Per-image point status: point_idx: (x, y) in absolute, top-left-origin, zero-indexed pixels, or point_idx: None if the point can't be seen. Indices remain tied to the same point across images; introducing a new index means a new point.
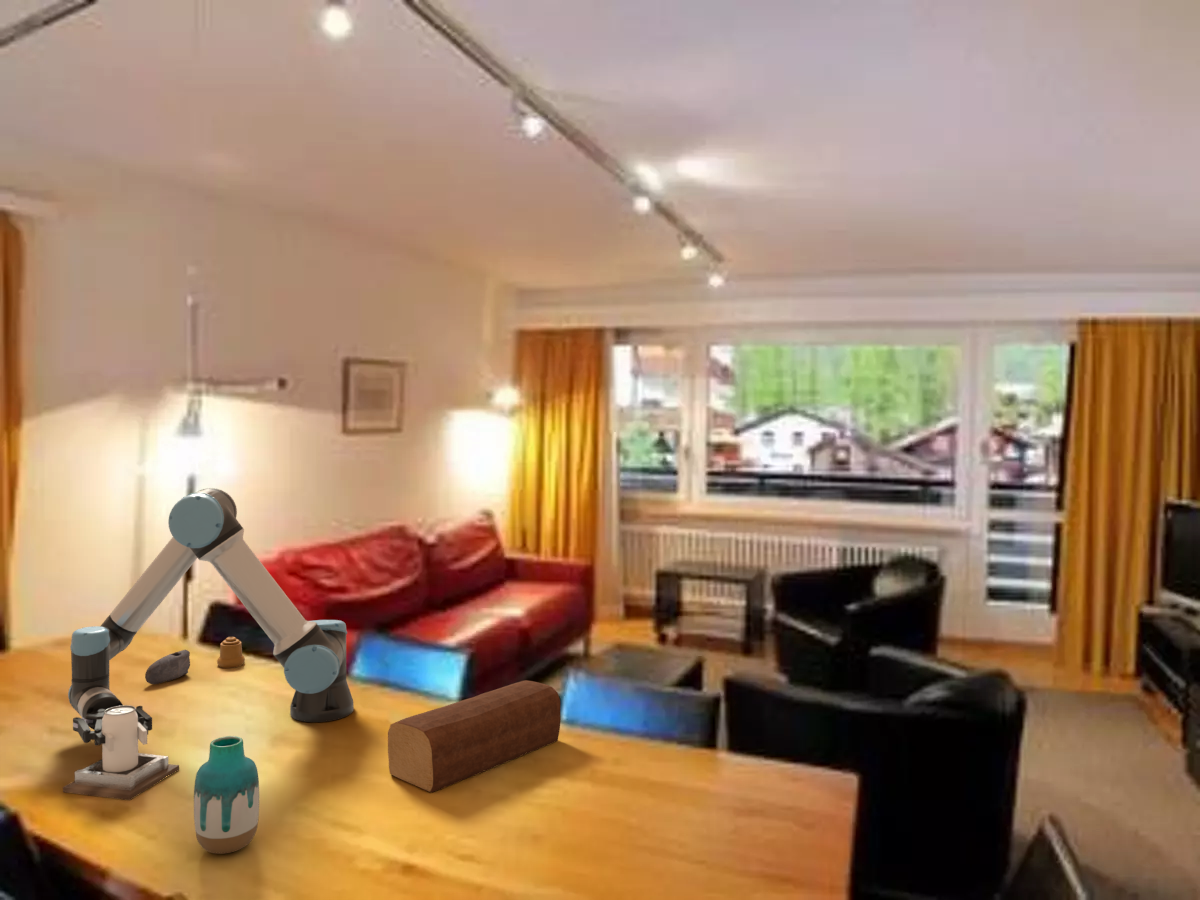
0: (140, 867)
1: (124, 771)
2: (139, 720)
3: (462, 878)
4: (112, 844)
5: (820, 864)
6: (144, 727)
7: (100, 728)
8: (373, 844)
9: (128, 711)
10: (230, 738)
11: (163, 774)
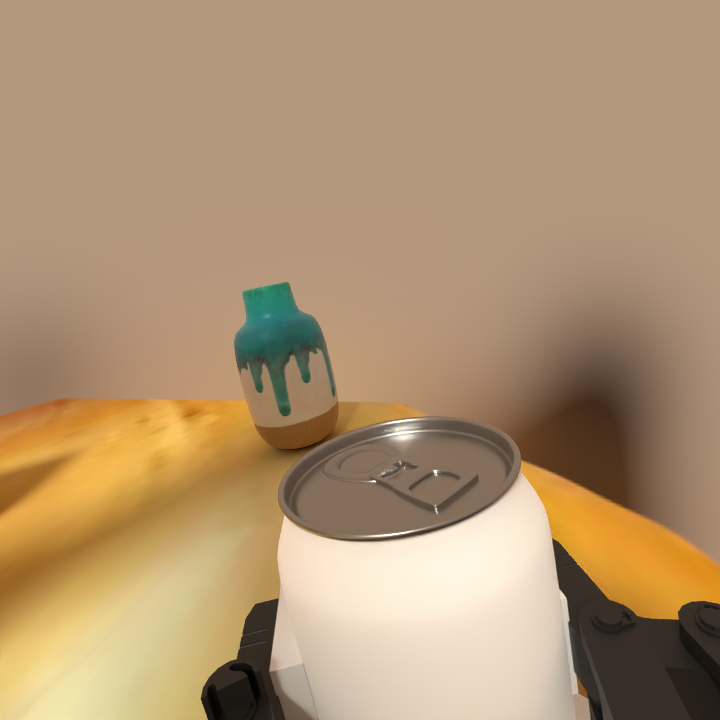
0: None
1: None
2: (255, 679)
3: (176, 406)
4: None
5: (28, 409)
6: (265, 621)
7: (589, 630)
8: (174, 436)
9: (341, 465)
10: (252, 292)
11: None
